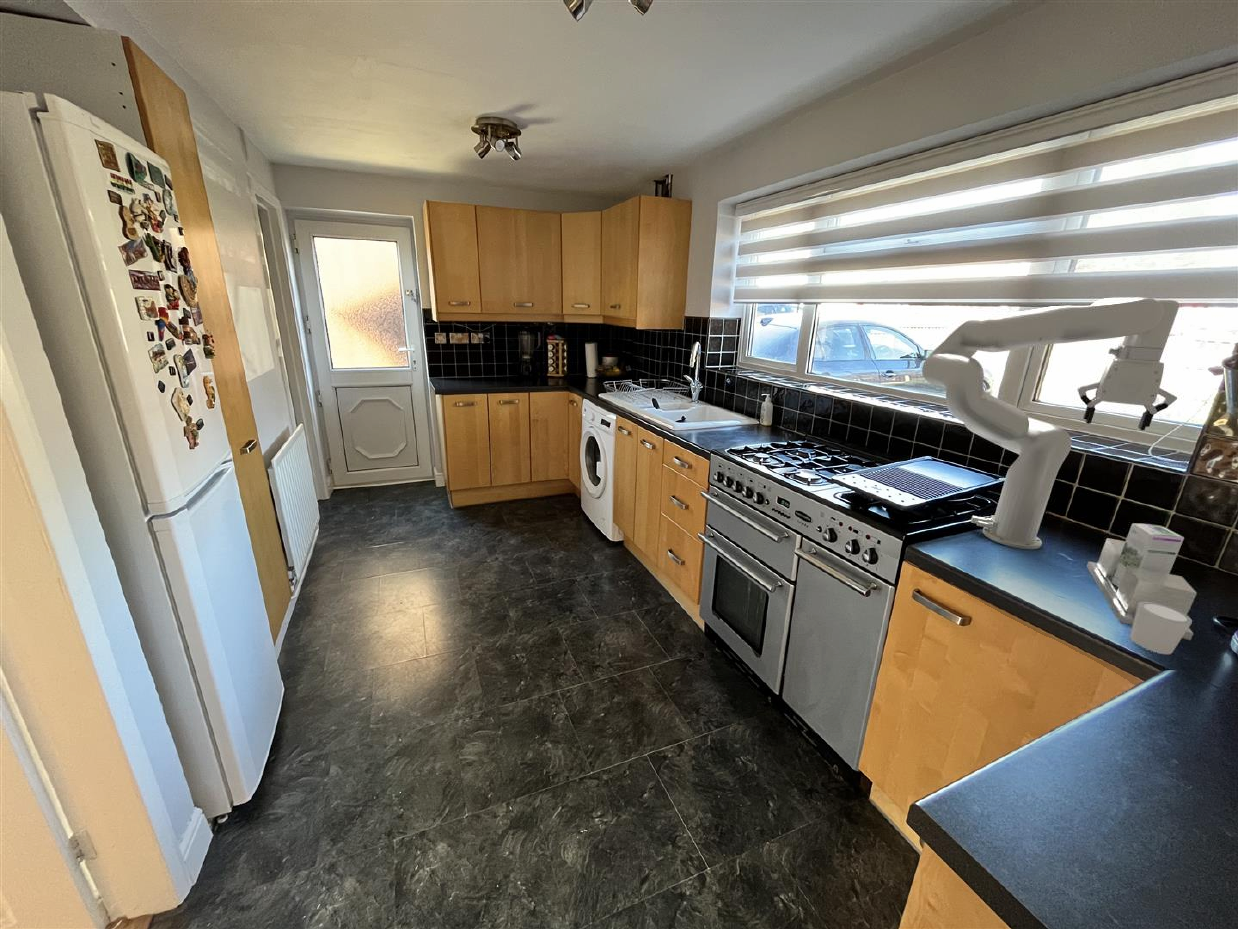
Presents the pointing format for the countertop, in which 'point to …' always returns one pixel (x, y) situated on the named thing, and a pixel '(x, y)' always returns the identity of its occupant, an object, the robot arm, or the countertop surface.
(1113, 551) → the board
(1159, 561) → the syrup box
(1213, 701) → the countertop surface
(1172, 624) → the grey mug
